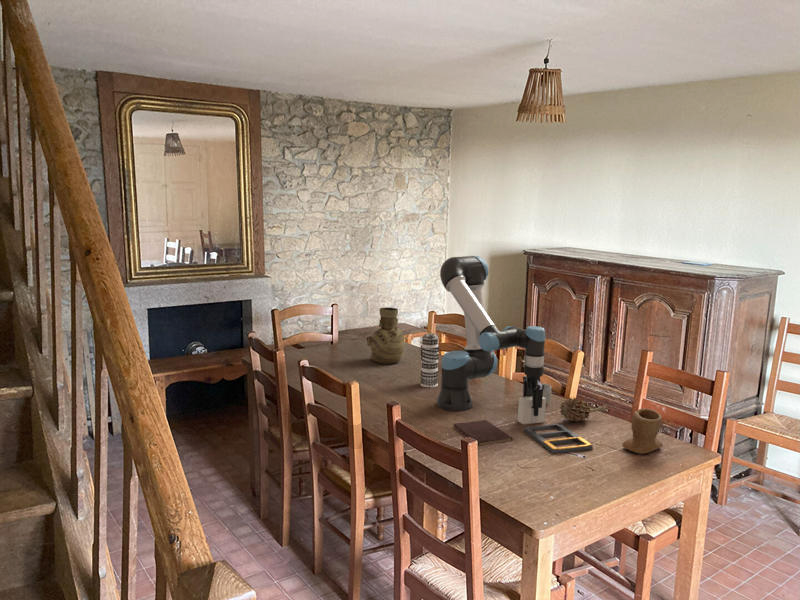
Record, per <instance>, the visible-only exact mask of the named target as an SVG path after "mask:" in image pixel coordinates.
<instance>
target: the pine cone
mask: <svg viewBox="0 0 800 600" xmlns="http://www.w3.org/2000/svg"><path fill="white" fill-rule="evenodd" d="M559 405H560V406H559V407H558V408H559V409H560V410H559V413H560V415H561V416H563V418H565V420H567V419H568V421H570V422H572V421H575V422H579V421H581V422H582V421H586V419H589V417H590V416H591V415H590V413H596V412H600V411H604V410H608V407H609V405H608V404H603V405H602V406H599V407H596V408H591V407H590V406H589V403H588V402H586V401H584V400H583V399H580V398H578V397H573V398H572V397H569V398H568V399H563V400H562V402H561V403H559Z"/></svg>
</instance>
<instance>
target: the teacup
mask: <svg viewBox="0 0 800 600" xmlns="http://www.w3.org/2000/svg"><path fill="white" fill-rule="evenodd" d="M540 383H541V385H544V389H543V397H544V398H546V405H547V404H548V403H549V402H551V399H552V388H553V387H552V385H550V384H548V383H543V382H540Z"/></svg>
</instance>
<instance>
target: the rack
mask: <svg viewBox="0 0 800 600" xmlns="http://www.w3.org/2000/svg"><path fill="white" fill-rule="evenodd" d="M552 429H557V430H558V431H551V432H550V431H549V432H543V433H540V432H539V433H537V432H536V431H543V430H544V431H545V430H552ZM522 430H523V432H524V433H526V434H527V435H528V436H529V437H531V438H532V440H534V441H536V442H537V443H538V444H539V445H541V446H542V447H543V448H545V449H546V450H547V451H548V452H550V453H551V454H552V455H557V454H558V453H559V454H567V453H575V452H576V453H577V452H583V451H592V450H594V449H593V448H594V445H593V444H592V443H590V442H589V441H587V440H586V439H585V438H583V437H582V436H580V435H578V434H576V433H575V432H573V431H572V430H570V429H569V428H568V427H566V426H564V424H561V423H554V424H543V425H534V426H523V429H522ZM561 436H567V437H564V438H555V439H547V440H546V438H552V437H553V438H554V437H561ZM573 443H577V444H579V445H571V446H562V447H561V446H560V447H557V445H564V444H565V445H567V444H573Z"/></svg>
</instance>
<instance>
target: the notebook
mask: <svg viewBox="0 0 800 600" xmlns="http://www.w3.org/2000/svg"><path fill="white" fill-rule="evenodd" d="M453 426H454V427H455V428H456V429H455V428H454V427H453ZM453 426H452V427H453V428H454V429H455V430H457V429H458V430H459V431H460V432H459V431H458V430H457V431H458V432H459V433H461V432H462V433H463V434H464V435H465V437H466V438H467V437H471V438H473V439H475V440H477V441H478V446H482V445H484V446H485V445H490V444H491V445H492V444H496V443H503V442H509V441H513V439H514V438H513V437H512V436H511V435H509V434H507V433H506V432H505V431H503V430H502V429H500V428H499V427H497V426H496V425H494V424H493V423H491V422H490V421H488V420H487V419H484V420H477V421H476V420H475V421H469V422H457V423H456V422H455V423H453ZM462 433H461V434H462ZM463 434H462V435H463ZM464 435H463V436H464Z"/></svg>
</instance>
